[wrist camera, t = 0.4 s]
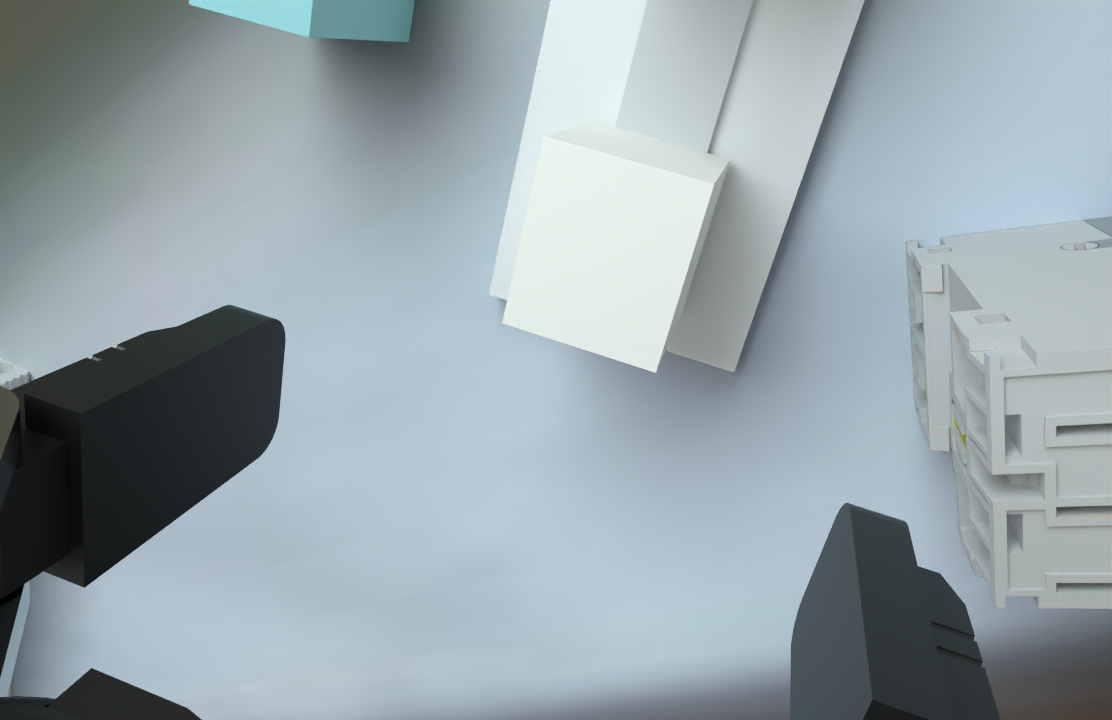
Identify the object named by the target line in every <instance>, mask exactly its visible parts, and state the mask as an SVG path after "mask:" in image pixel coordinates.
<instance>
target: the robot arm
mask: <svg viewBox="0 0 1112 720" xmlns="http://www.w3.org/2000/svg"><path fill="white" fill-rule="evenodd" d="M284 350H285V330H284V327H283V325H282V323H281V322H280V321H279V320H277V319H273V318H270V317H267V316H264V315H261V314H258V313H255V312H252V311H248V310H245V309H242V308H239V307H236V306H232V305H226V306H223V307H221V308H219V309H216V310H214V311H212V312H209V313H207V314H205V315H203V316H200V317H198V318H196V319H193V320H191V321H189V322H187V323H184V324H182V325H180V326H177V327H172V328H166V329H161V330H155V331H150V332H146V333H144V334H141V335H139V336H137V337H134V338H132V339H129V340H127V341H125V342H122V343H120V344H118V345H117V348H113V347H111V348H108V349H106V350H104V351H101V352H99V353H97V354H94V355H93V357H92V359H89V358H85V359H82V360H80V361H78V362H75V363H73V364H71V365H68V366H66V367H64V368H61V369H59V370H56V371H54V372H52V373H49V374H47V375H45V376H42V377H40V378H38V379H35V380H33V381H31V382H28V383H26V384H23V385H21V386H19V387H16V388H14V389H12V390H8V389H6V388H4V387H2V386H0V720H201V719H200V718H199V717H198V716H196V715H195V714H194V713H193V712H191V711H190V710H189V709H188V708H186V707H183V706H181V705H178V704H176V703H174V702H171V701H169V700H166V699H164V698H162V697H159V696H157V695H154V694H152V693H150V692H147V691H145V690H142V689H140V688H138V687H135V686H133V685H130V684H128V683H126V682H123V681H121V680H119V679H116V678H114V677H111V676H109V675H107V674H104V673H102V672H99V671H97V670H95V669H92V668H91V669H90V670H89V671H88V672H86V673H85V674H84V675H83V676H82V677H81V678H80V679H78V680H77V681H76V682H75V683H74V684H73V685H71V686H70V687H69V688H68V689H67V690H66V691H65V692H63V693H62V694H61V695H60V696H59V697H58V698H56V699H51V698H41V697H19V696H14V697H7V696H8V692H9V688H10V684H11V680H12V676H13V671H14V667H15V663H16V659H17V655H18V651H19V647H20V643H21V638H22V634H23V630H24V626H25V622H26V618H27V614H28V610H29V606H30V581H29V580H31V579H32V578H34V577H35V576H37V575H38V574H40V573H41V572H43V571H44V572H47V573H49V574H52V575H54V576H57V577H59V578H62V579H64V580H67V581H69V582H72V583H74V584H77V585H79V586H82V587H84V588H85V587H86V586H87V585H89V584H90V583H91V582H93V581H94V580H95V579H97V578H98V577H99V576H101V575H102V574H103V573H105V572H106V571H107V570H109V569H110V568H111V567H113V566H114V565H115V564H117V563H118V562H119V561H121V560H122V559H123V558H125V557H126V556H127V555H129V554H130V553H131V552H133V551H134V550H135V549H137V548H138V547H139V546H141V545H142V544H144V543H145V542H146V541H148V540H149V539H150V538H152V537H153V536H154V535H156V534H157V533H158V532H160V531H161V530H162V529H164V528H165V527H166V526H168V525H169V524H170V523H172V522H173V521H174V520H176V519H177V518H178V517H180V516H181V515H182V514H184V513H185V512H186V511H188V510H189V509H190V508H192V507H193V506H194V505H196V504H197V503H199V502H200V501H201V500H203V499H204V498H205V497H207V496H208V495H209V494H211V493H212V492H213V491H215V490H216V489H217V488H219V487H220V486H221V485H223V484H224V483H225V482H227V481H228V480H229V479H231V478H232V477H233V476H235V475H236V474H237V473H239V472H240V471H241V470H243V469H244V468H245V467H247V466H248V465H249V464H251V463H252V462H253V461H255V460H256V459H257V458H259V457H260V456H261V455H262V454H263V452H264V451H265V450H266V449H267V447H268V445H269V444H270V442H271V440H272V438H273V436H274V433H275V431H276V428H277V424H278V419H279V409H280V397H281V385H282V374H283V362H284ZM974 636H975V635H974V632H973V628H972V625H971V622H970V619H969V615H968V612H967V609H966V606H965V604H964V603H963V602H962V600H961V599H960V598H959V597H958V595H957V594H956V593H955V592H954V590H953V589H952V588H951V587H950V585H949V584H948V583H947V582H946V580H945V579H944V578H943V577H942V575H941V574H940V573H937V572H934V571H931V570H928V569H925V568H921V567H918V566H917V562H916V558H915V553H914V549H913V545H912V541H911V536H910V532H909V528H908V525H907V523H906V522H905V521H902V520H899V519H896V518H893V517H889V516H886V515H883V514H880V513H877V512H874V511H871V510H868V509H864V508H861V507H858V506H855V505H852V504H849V503H845V504H844V505H843V506H842V507H841V509H840V511H839V512H838V514H837V516H836V519H835V521H834V523H833V526H832V528H831V530H830V533H829V535H828V538H827V540H826V543H825V545H824V547H823V550H822V552H821V555H820V557H819V559H818V562H817V564H816V567H815V569H814V572H813V574H812V576H811V579H810V581H809V584H808V586H807V588H806V591H805V593H804V596H803V598H802V601H801V604H800V607H799V610H798V613H797V617H796V621H795V625H794V630H793V635H792V643H791V700H790V720H1000V717H999V713H998V710H997V707H996V704H995V700H994V697H993V694H992V690H991V687H990V684H989V681H988V677H987V674H986V671H985V668H983V667H981V665H982V662H983V661H982V658H981V655H980V651H979V648H978V645H977V642H976V641H974Z"/></svg>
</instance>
